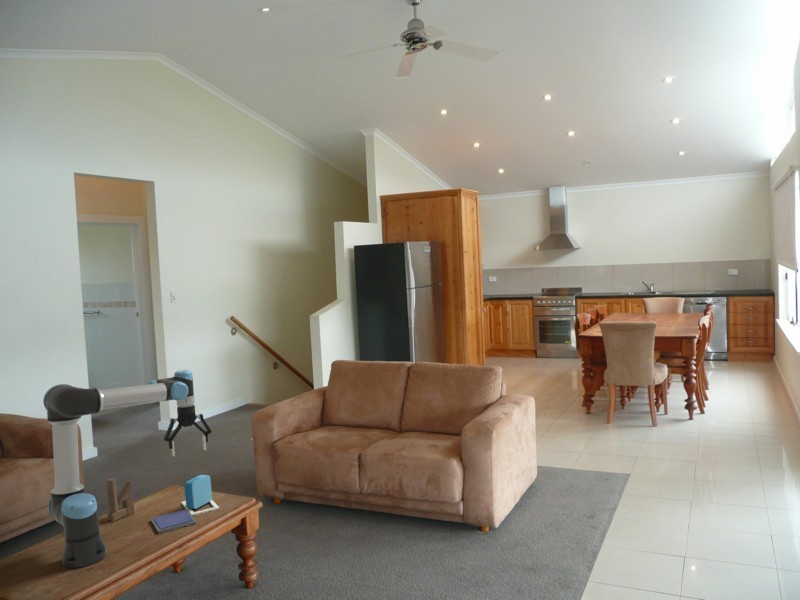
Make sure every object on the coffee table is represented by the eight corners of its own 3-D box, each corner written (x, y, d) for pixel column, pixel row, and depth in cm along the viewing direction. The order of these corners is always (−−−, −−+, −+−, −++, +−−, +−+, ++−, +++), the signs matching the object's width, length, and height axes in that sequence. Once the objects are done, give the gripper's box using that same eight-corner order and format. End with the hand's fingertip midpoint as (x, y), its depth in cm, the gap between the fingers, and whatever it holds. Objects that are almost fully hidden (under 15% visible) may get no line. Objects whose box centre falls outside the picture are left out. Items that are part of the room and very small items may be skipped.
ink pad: (158, 534, 260) (158, 530, 260) (150, 521, 274) (150, 517, 274) (196, 523, 268) (195, 520, 268) (186, 511, 282) (186, 508, 282)
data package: (204, 499, 294) (202, 473, 293) (212, 500, 292) (210, 474, 291) (186, 509, 283) (183, 482, 282) (194, 510, 281) (191, 483, 280)
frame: (191, 516, 276) (191, 514, 276) (181, 503, 293) (181, 502, 293) (219, 508, 283) (219, 507, 283) (207, 496, 299) (207, 495, 299)
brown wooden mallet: (135, 513, 285) (131, 473, 284) (113, 522, 276) (108, 481, 275) (130, 511, 287) (126, 472, 286) (108, 521, 278) (103, 480, 277)
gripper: (157, 411, 275) (161, 460, 276) (216, 402, 287) (219, 448, 288) (154, 408, 281) (158, 456, 282) (211, 399, 294) (215, 445, 295)
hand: (189, 452), depth 285 cm, fingers open, 13 cm apart
